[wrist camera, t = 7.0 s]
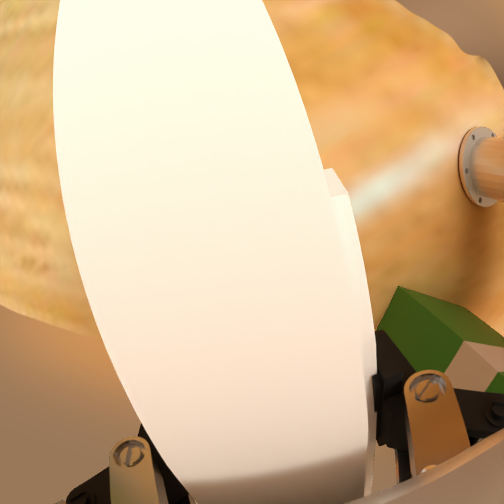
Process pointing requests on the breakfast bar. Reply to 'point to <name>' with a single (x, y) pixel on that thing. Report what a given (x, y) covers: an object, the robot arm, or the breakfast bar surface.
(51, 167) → the breakfast bar surface
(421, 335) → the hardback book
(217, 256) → the cream elongated piece
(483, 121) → the breakfast bar surface
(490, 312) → the breakfast bar surface
